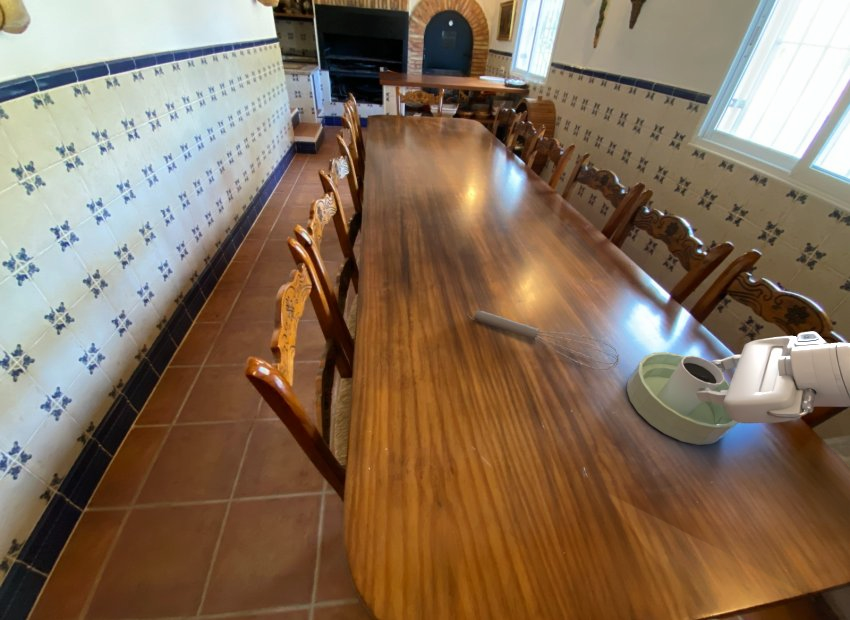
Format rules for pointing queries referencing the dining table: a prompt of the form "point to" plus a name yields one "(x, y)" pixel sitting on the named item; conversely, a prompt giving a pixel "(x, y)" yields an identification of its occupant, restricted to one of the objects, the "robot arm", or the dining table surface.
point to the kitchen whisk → (531, 333)
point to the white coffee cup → (690, 384)
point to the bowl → (694, 428)
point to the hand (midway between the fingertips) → (705, 380)
